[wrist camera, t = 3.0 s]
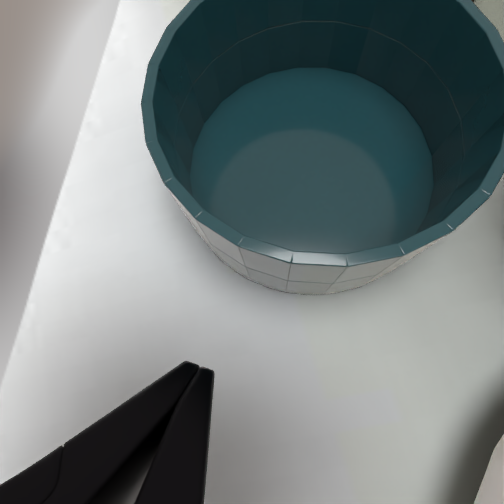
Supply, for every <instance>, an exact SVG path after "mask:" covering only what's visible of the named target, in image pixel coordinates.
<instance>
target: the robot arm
mask: <svg viewBox="0 0 504 504" xmlns="http://www.w3.org/2000/svg"><path fill="white" fill-rule="evenodd" d="M213 387H214V371H213V370H210V369H208V368H205V367H199V365H197V364H194V363H192V362H189V361H185V362H183V363H181V364H180V365H178V366H177V367H175V368H174V369H173V370H171V371H170V372H168V373H167V374H165V375H164V376H162V377H161V378H159V379H158V380H156V381H155V382H154V383H152V384H151V385H149V386H148V387H146V388H145V389H143V390H142V391H140V392H139V393H138V394H136V395H135V396H133V397H132V398H130V399H129V400H127V401H126V402H124V403H123V404H121V405H120V406H119V407H117V408H116V409H114V410H113V411H111V412H110V413H108V414H107V415H105V416H104V417H103V418H101V419H100V420H98V421H97V422H95V423H94V424H92V425H91V426H89V427H88V428H86V429H85V430H84V431H82V432H81V433H79V434H78V435H76V436H75V437H73V438H72V439H70V440H69V441H67V442H66V443H65V444H64V447H63V446H60V447H58V448H57V449H56V450H54V451H53V452H51V453H50V454H48V455H47V456H45V457H44V458H42V459H41V460H39V461H38V462H36V463H35V464H33V465H32V466H30V467H29V468H27V469H26V470H24V471H22V472H21V473H19V474H18V475H16V476H14V477H13V478H11V479H9V480H8V481H6V482H4V483H3V484H1V485H0V504H204V497H205V484H206V472H207V460H208V448H209V436H210V424H211V411H212V399H213Z"/></svg>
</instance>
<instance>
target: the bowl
mask: <svg viewBox="0 0 504 504" xmlns="http://www.w3.org/2000/svg"><path fill="white" fill-rule="evenodd" d="M141 108H142V116H143V125H144V133H145V141H146V145H147V148H148V150H149V152H150V154H151V156H152V159H153V161H154V163H155V165H156V167H157V170H158V172H159V174H160V176H161V178H162V181H163V183H164V184H165V186H166V187H167V189H168V190H169V192H170V193H171V195H172V196H173V198H174V199H175V200H176V202H177V203H178V205H179V206H180V208H181V209H182V211H183V212H184V214H185V215H186V217H187V218H188V220H189V221H190V223H191V224H192V225H193V227H194V228H195V230H196V231H197V233H198V234H199V236H200V237H201V238H202V239H203V240H204V242H205V243H206V244H207V245H208V246H209V248H210V249H211V250H212V251H213V252H214V253H215V254H216V255H217V257H218V258H219V259H220V260H221V261H222V262H224V263H225V264H226V265H228V266H229V267H230V268H232V269H233V270H234V271H236V272H237V273H239V274H240V275H242V276H244V277H246V278H247V279H249V280H251V281H253V282H255V283H258V284H260V285H263V286H265V287H268V288H271V289H275V290H279V291H283V292H287V293H295V294H303V295H323V294H330V293H338V292H343V291H346V290H350V289H354V288H358V287H361V286H363V285H365V284H367V283H370V282H372V281H374V280H376V279H378V278H379V277H381V276H383V275H385V274H387V273H389V272H391V271H393V270H395V269H396V268H398V267H399V266H401V265H402V264H404V263H405V262H407V261H408V260H410V259H411V258H413V257H414V256H416V255H418V254H419V253H421V252H422V251H424V250H425V249H427V248H428V247H430V246H431V245H433V244H434V243H436V242H437V241H439V240H440V239H442V238H444V237H445V236H447V235H448V234H450V233H451V232H453V231H454V230H455V229H456V228H457V227H458V226H459V225H460V224H462V223H463V222H464V221H465V220H466V219H467V218H468V217H469V216H470V215H471V214H472V213H473V212H474V211H476V210H477V209H478V208H479V207H480V206H481V205H482V204H483V203H484V202H485V201H486V200H487V199H488V198H489V197H490V196H491V195H492V193H493V191H494V189H495V188H496V186H497V184H498V182H499V180H500V179H501V177H502V175H503V173H504V42H503V40H502V38H501V36H500V34H499V32H498V30H497V29H496V27H495V26H494V25H493V24H492V23H491V22H490V21H489V20H488V18H487V17H486V16H485V15H484V14H483V13H482V12H481V11H480V10H479V8H478V7H477V6H476V5H475V4H474V3H473V2H472V1H471V0H190V1H189V3H188V4H187V5H186V6H185V7H184V8H183V9H182V10H181V12H180V13H179V14H178V15H177V16H176V17H175V18H174V20H173V21H172V22H171V23H170V24H169V25H168V26H167V27H166V29H165V31H164V33H163V35H162V37H161V39H160V41H159V43H158V45H157V47H156V49H155V51H154V53H153V55H152V57H151V59H150V61H149V64H148V68H147V73H146V78H145V84H144V89H143V95H142V100H141Z"/></svg>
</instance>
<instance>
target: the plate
mask: <svg viewBox="0 0 504 504" xmlns="http://www.w3.org/2000/svg"><path fill="white" fill-rule="evenodd" d="M474 504H504V434H503V436H502V437H501V439H500V441H499V442H498V444H497V445H496V447H495V448H494V451H493V453H492V456H491V459H490V461H489V464H488V467H487V470H486V472H485V475H484V478H483V480H482V483H481V486H480V488H479V491H478V494H477V496H476V499H475V502H474Z"/></svg>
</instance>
